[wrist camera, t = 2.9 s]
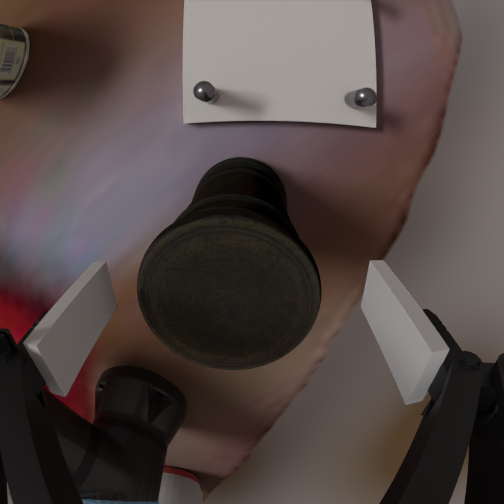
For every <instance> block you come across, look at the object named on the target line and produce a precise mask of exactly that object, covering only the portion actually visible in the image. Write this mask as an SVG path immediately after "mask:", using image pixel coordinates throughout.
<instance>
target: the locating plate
mask: <svg viewBox="0 0 504 504" xmlns="http://www.w3.org/2000/svg"><path fill="white" fill-rule="evenodd" d="M376 102H377V92H376V55H375V38H374V25H373V14H372V5H371V0H185V1H184V25H183V119H184V124H188V123H203V122H223V121H296V122H316V123H331V124H343V125H353V126H363V127H371V128H376Z"/></svg>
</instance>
